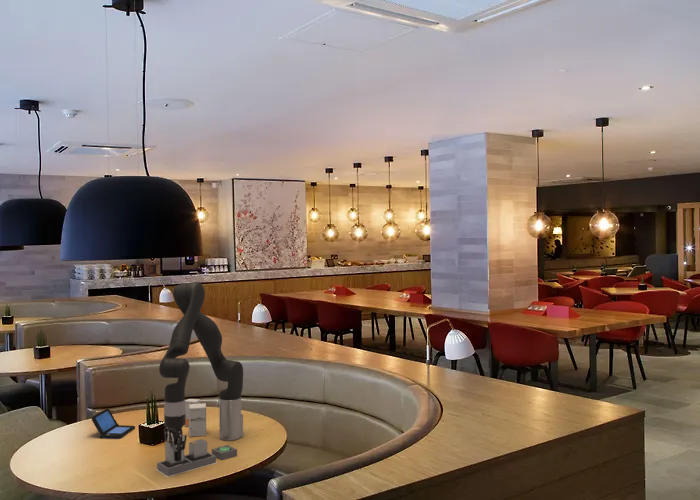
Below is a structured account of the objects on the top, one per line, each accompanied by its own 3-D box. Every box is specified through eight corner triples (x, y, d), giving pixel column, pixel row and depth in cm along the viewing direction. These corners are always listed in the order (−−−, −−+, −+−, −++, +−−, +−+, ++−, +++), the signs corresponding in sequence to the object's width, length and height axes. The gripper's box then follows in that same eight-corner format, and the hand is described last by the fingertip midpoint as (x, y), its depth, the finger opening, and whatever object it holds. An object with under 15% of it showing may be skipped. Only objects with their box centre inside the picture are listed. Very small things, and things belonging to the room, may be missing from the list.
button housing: (227, 453, 243) (227, 444, 243) (237, 458, 237) (237, 449, 237) (212, 457, 238) (211, 449, 238) (221, 462, 233) (221, 453, 233)
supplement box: (189, 437, 263) (188, 408, 263) (188, 432, 270) (188, 403, 270) (206, 435, 265) (206, 407, 265) (205, 430, 272) (205, 402, 272)
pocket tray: (205, 458, 237) (205, 449, 237) (217, 465, 230) (217, 456, 230) (155, 472, 223) (155, 462, 223) (167, 479, 216) (167, 470, 216)
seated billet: (202, 459, 233) (202, 438, 233) (207, 462, 230) (207, 441, 230) (189, 463, 230) (188, 441, 229) (194, 466, 227) (194, 444, 226)
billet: (179, 459, 227) (179, 437, 227) (184, 462, 224) (184, 440, 224) (165, 462, 223) (165, 440, 223) (170, 465, 220) (170, 443, 220)
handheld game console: (120, 439, 261) (120, 418, 261) (90, 439, 262) (90, 417, 262) (136, 428, 276) (136, 408, 276) (107, 427, 278) (107, 407, 277)
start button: (226, 451, 240) (226, 446, 240) (231, 453, 238) (231, 448, 237) (217, 453, 238) (217, 448, 238) (222, 456, 235) (222, 451, 235)
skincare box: (184, 426, 278) (184, 400, 278) (189, 424, 282) (189, 398, 282) (195, 428, 276) (195, 401, 276) (200, 425, 280) (200, 399, 280)
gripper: (156, 410, 226) (156, 456, 226) (174, 418, 216) (174, 467, 216) (175, 406, 231) (175, 451, 231) (193, 414, 221) (193, 461, 221)
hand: (175, 458), depth 224 cm, fingers closed on billet, 4 cm apart
